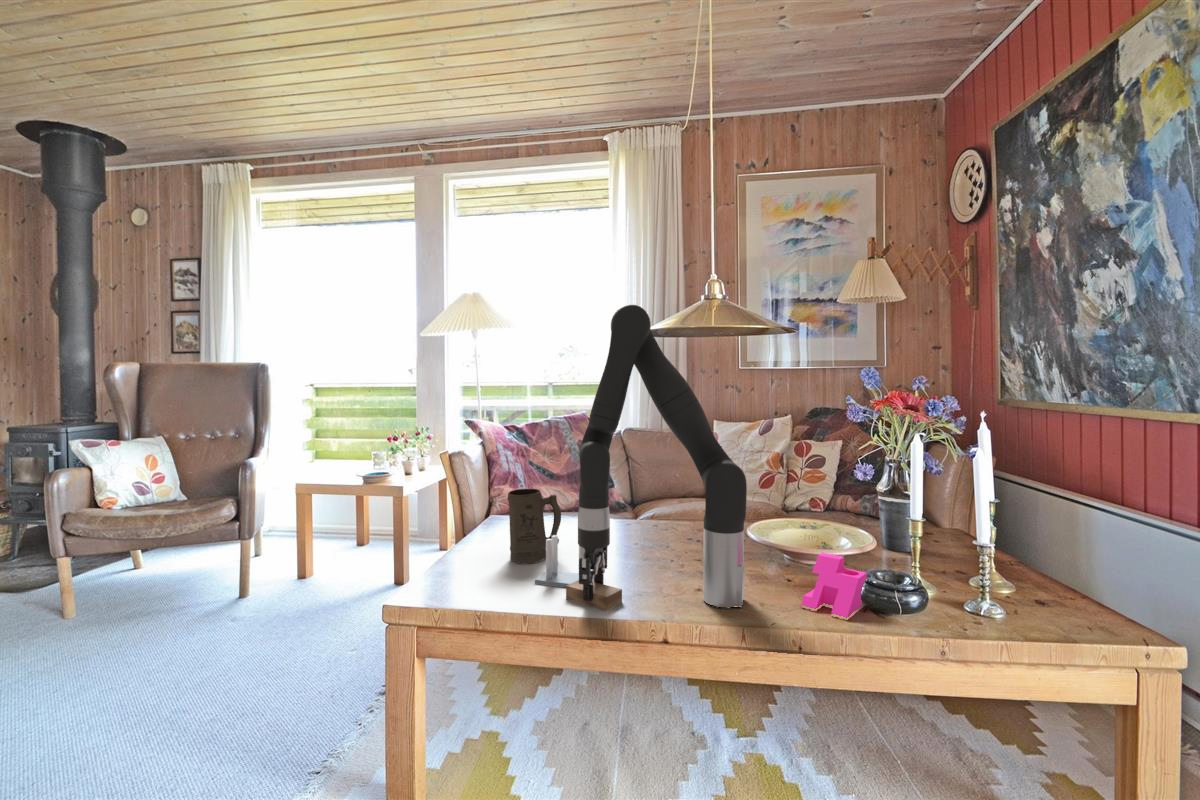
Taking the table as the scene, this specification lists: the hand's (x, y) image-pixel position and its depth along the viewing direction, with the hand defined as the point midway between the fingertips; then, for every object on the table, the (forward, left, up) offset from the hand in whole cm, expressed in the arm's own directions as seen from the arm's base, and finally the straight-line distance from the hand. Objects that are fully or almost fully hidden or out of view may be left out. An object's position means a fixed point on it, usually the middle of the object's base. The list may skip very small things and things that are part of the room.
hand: (593, 594), depth 135 cm
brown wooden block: (0, 0, -2) cm, 2 cm away
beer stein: (+27, -25, -2) cm, 37 cm away
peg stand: (+10, -10, -1) cm, 14 cm away
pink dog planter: (-54, -14, -2) cm, 55 cm away
